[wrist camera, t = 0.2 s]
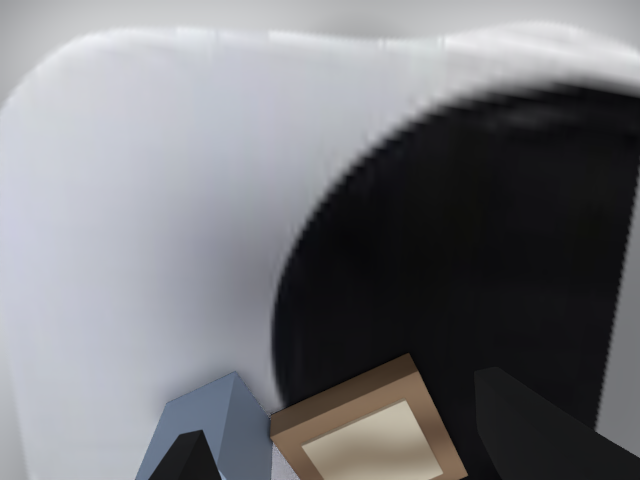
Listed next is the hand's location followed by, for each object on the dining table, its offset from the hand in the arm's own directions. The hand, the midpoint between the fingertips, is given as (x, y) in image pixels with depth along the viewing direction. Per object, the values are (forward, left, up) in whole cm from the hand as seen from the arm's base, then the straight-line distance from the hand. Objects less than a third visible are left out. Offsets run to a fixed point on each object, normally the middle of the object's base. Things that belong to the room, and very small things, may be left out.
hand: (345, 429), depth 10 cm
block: (-6, +9, -10) cm, 15 cm away
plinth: (-12, +2, -10) cm, 15 cm away
